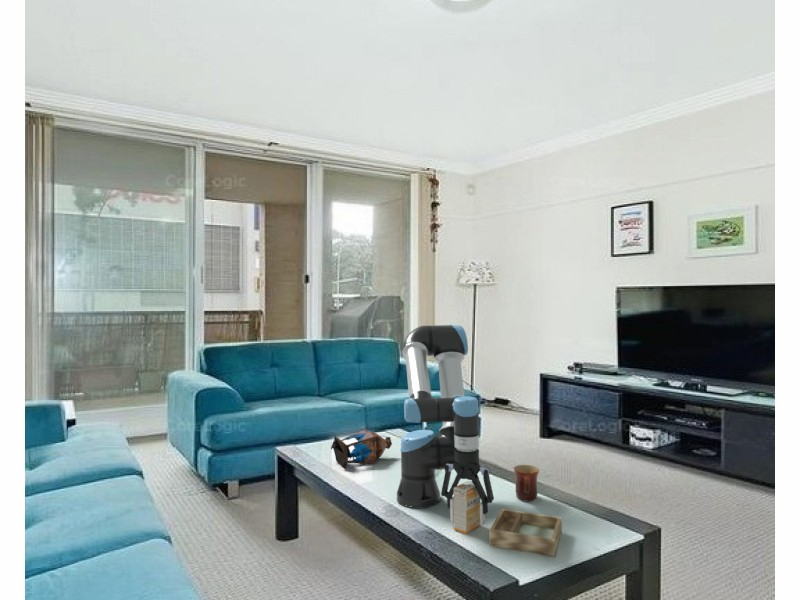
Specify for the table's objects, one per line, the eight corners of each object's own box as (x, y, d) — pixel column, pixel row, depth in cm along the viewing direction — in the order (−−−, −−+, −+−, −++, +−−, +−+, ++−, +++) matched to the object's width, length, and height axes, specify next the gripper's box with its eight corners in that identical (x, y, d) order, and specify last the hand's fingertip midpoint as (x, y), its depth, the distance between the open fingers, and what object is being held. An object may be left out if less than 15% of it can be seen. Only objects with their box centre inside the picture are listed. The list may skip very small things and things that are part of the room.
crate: (489, 545, 153) (489, 530, 153) (501, 522, 168) (501, 508, 168) (554, 557, 146) (554, 540, 146) (561, 532, 161) (561, 517, 161)
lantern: (339, 481, 224) (392, 468, 235) (347, 459, 214) (402, 446, 225) (327, 449, 234) (378, 437, 246) (334, 426, 224) (387, 415, 236)
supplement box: (466, 534, 160) (466, 491, 160) (453, 530, 163) (452, 487, 163) (481, 525, 166) (481, 483, 166) (468, 520, 170) (468, 479, 169)
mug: (513, 492, 192) (513, 464, 192) (538, 494, 190) (538, 465, 190) (513, 506, 180) (513, 475, 180) (540, 507, 179) (540, 477, 178)
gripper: (429, 448, 165) (430, 520, 166) (498, 455, 157) (499, 532, 157) (437, 441, 172) (438, 511, 172) (504, 448, 164) (504, 521, 164)
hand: (467, 521), depth 165 cm, fingers open, 9 cm apart
